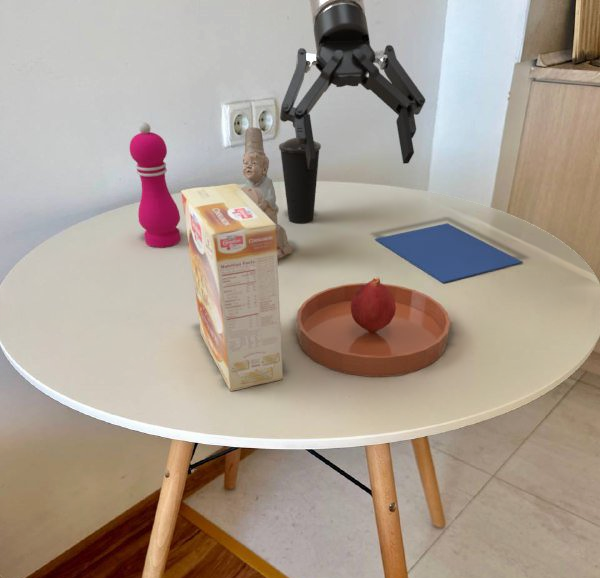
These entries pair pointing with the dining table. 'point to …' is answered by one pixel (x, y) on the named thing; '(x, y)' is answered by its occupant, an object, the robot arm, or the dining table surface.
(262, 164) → the figurine
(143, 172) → the pepper mill
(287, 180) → the drinking cup
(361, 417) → the dining table surface
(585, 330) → the dining table surface
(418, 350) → the bowl
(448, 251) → the blue cloth
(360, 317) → the onion
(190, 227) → the coffeecake box
